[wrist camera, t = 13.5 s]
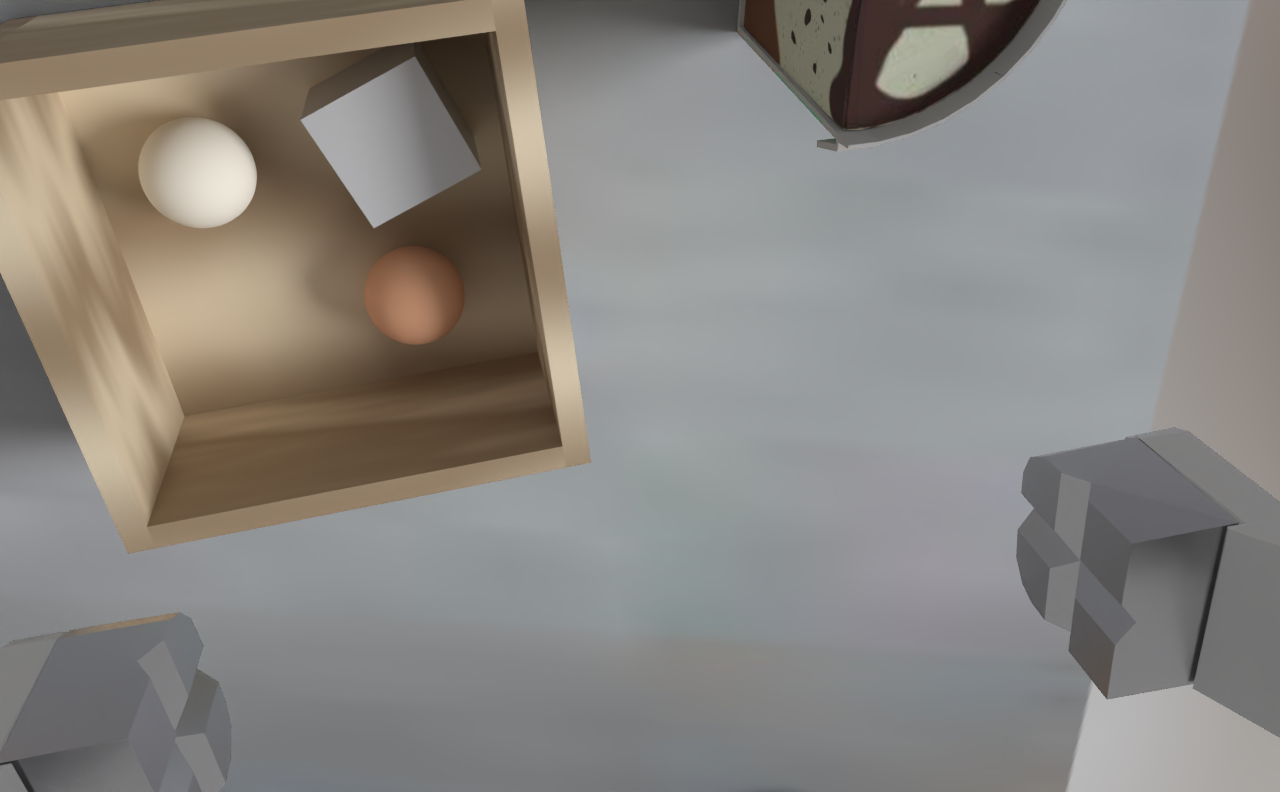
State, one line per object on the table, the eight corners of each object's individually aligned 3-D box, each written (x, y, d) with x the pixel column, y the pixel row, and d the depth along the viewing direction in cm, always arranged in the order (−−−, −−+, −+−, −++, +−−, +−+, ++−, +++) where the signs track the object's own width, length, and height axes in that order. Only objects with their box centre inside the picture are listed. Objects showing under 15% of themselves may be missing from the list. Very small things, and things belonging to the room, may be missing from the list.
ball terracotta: (469, 310, 36) (475, 351, 33) (377, 326, 35) (375, 369, 33) (452, 224, 34) (457, 260, 31) (355, 240, 34) (351, 278, 31)
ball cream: (274, 198, 32) (264, 234, 30) (170, 214, 32) (149, 252, 29) (245, 97, 31) (231, 125, 28) (135, 112, 30) (109, 143, 28)
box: (560, 359, 38) (591, 462, 32) (171, 430, 36) (128, 553, 30) (498, -45, 31) (522, -8, 25) (8, 19, 29) (-90, 75, 23)
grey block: (473, 135, 33) (481, 169, 30) (375, 189, 33) (373, 228, 30) (413, 31, 31) (415, 56, 28) (309, 88, 31) (300, 119, 28)
